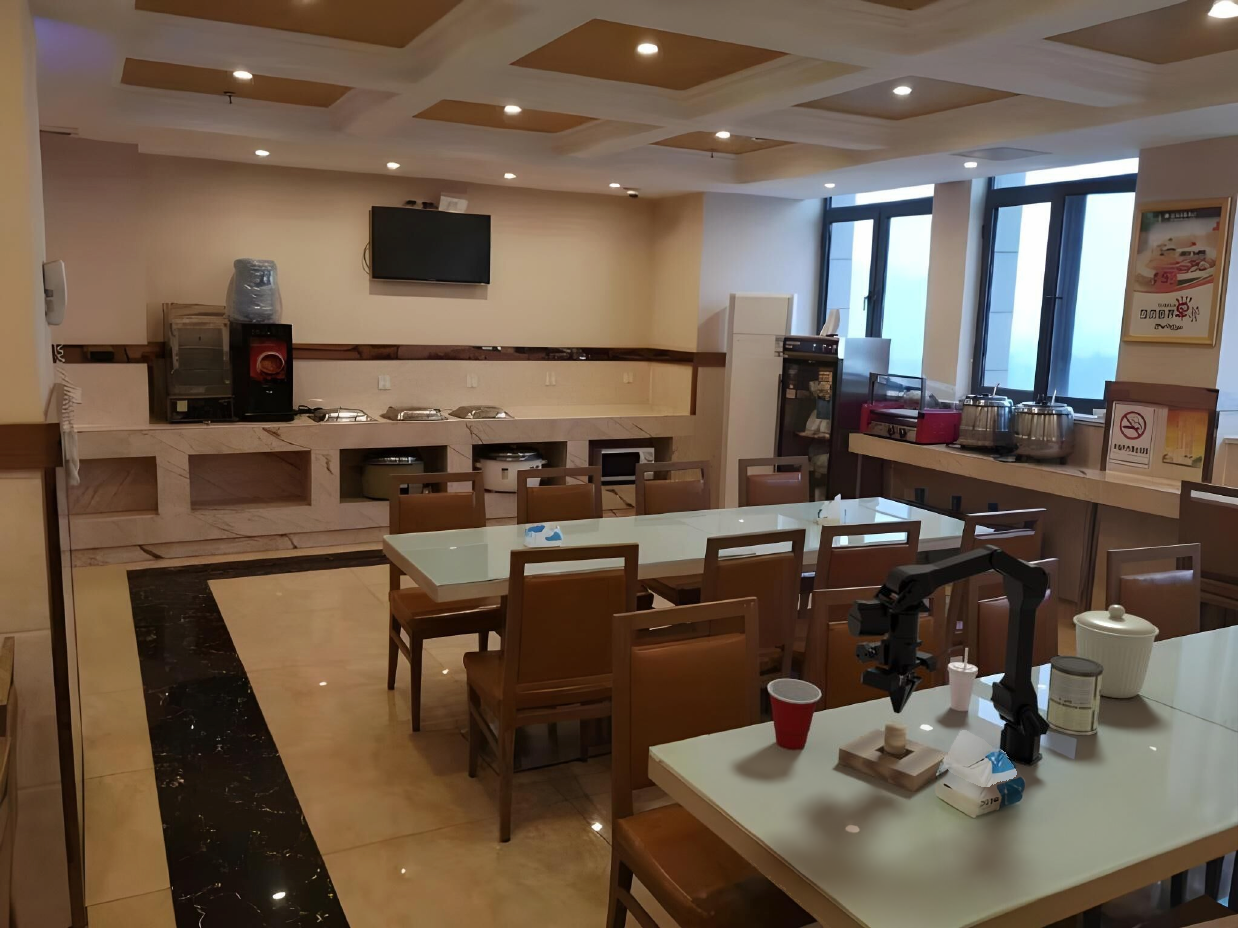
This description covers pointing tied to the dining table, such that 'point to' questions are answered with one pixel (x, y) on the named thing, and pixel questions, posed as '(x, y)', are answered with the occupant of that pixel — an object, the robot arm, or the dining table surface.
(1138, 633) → the canister
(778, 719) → the plastic cup
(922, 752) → the board
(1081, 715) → the coffee can
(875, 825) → the dining table surface
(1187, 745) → the dining table surface
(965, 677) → the smoothie
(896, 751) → the peg
